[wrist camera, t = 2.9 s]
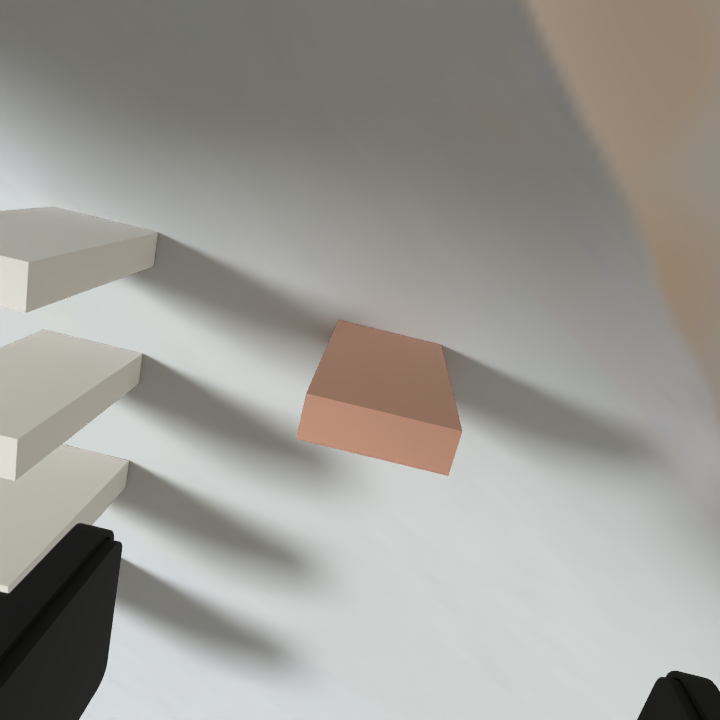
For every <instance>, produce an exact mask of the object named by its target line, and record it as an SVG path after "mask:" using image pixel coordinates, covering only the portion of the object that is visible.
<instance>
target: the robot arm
mask: <svg viewBox="0 0 720 720" xmlns="http://www.w3.org/2000/svg"><path fill="white" fill-rule="evenodd" d="M121 553H122V543H121V542H118V541H114V534H113V532H112V531H111V530H107V529H103V528H99V527H95V526H91V525H87V524H83V523H78V524H76V525H75V526H74V527H73V528H72V529H71V530H70V531H69V532H68V533H67V534H66V535H65V536H64V537H63V538H62V539H61V540H60V541H59V542H58V543H57V544H56V545H55V546H54V547H53V548H52V549H51V551H50V552H49V553H48V554H47V555H46V556H45V557H44V558H43V559H42V560H41V561H40V562H39V563H38V564H37V565H36V566H35V567H34V568H33V569H32V570H31V571H30V572H29V573H28V574H27V575H26V576H25V577H24V579H23V580H22V581H21V582H20V583H19V584H18V585H17V586H16V587H15V588H14V589H13V590H12V591H11V592H10V593H5V592H1V591H0V720H79V718H80V717H81V715H82V714H83V712H84V710H85V709H86V707H87V705H88V704H89V702H90V700H91V699H92V697H93V695H94V694H95V692H96V691H97V689H98V687H99V685H100V683H101V681H102V678H103V676H104V673H105V670H106V666H107V660H108V652H109V645H110V637H111V629H112V622H113V614H114V606H115V599H116V591H117V584H118V576H119V568H120V561H121ZM637 720H720V691H719V690H718V688H717V687H716V685H715V684H714V683H713V682H712V681H711V680H709V679H707V678H703V677H699V676H695V675H691V674H687V673H683V672H679V671H671V672H670V673H668V674H667V676H666V677H660V678H659V679H658V680H657V681H656V683H655V684H654V687H653V689H652V691H651V693H650V695H649V697H648V699H647V701H646V703H645V705H644V707H643V709H642V711H641V713H640V715H639V717H638V719H637Z"/></svg>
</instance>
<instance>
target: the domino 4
mask: <svg viewBox="0 0 720 720" xmlns="http://www.w3.org/2000/svg"><path fill="white" fill-rule="evenodd" d="M461 433H462V429H461V424H460V420H459V416H458V412H457V408H456V404H455V399H454V395H453V391H452V387H451V383H450V379H449V374H448V370H447V366H446V362H445V358H444V354H443V350H442V345H440V344H435V343H431V342H427V341H423V340H419V339H415V338H411V337H407V336H403V335H399V334H394V333H390V332H386V331H382V330H378V329H374V328H370V327H366V326H362V325H358V324H353V323H349V322H345V321H341V320H338V322H337V324H336V327H335V329H334V331H333V334H332V336H331V338H330V340H329V343H328V345H327V347H326V350H325V352H324V354H323V356H322V359H321V361H320V363H319V366H318V368H317V370H316V372H315V375H314V377H313V379H312V382H311V384H310V386H309V388H308V391H307V393H306V397H305V402H304V406H303V411H302V415H301V420H300V424H299V429H298V433H297V438H296V439H299V440H303V441H307V442H311V443H315V444H319V445H324V446H328V447H332V448H336V449H340V450H344V451H348V452H352V453H357V454H361V455H365V456H369V457H373V458H377V459H381V460H385V461H390V462H394V463H398V464H402V465H406V466H410V467H414V468H418V469H422V470H427V471H431V472H435V473H439V474H443V475H447V476H448V475H449V472H450V468H451V465H452V462H453V459H454V456H455V452H456V449H457V446H458V443H459V440H460V436H461Z"/></svg>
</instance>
